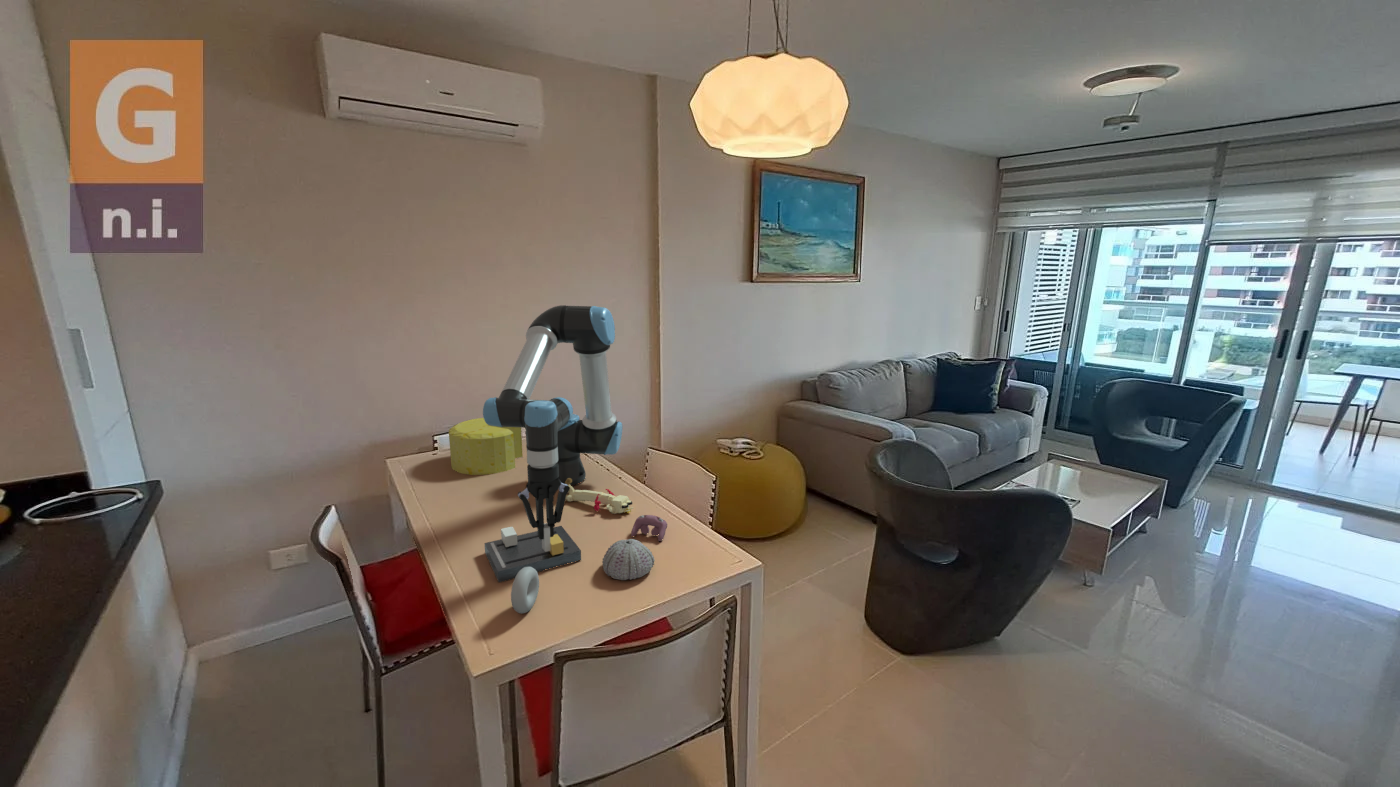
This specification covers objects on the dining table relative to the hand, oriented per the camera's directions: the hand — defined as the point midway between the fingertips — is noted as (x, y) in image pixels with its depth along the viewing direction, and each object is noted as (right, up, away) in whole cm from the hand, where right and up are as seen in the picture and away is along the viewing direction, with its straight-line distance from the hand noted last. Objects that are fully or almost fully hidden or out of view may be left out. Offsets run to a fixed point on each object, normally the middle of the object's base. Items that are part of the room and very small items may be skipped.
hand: (546, 548), depth 145 cm
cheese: (-42, +14, +71) cm, 83 cm away
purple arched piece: (+25, -1, +17) cm, 30 cm away
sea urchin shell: (+21, -5, -1) cm, 22 cm away
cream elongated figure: (+7, +4, +35) cm, 36 cm away
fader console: (-5, -3, +4) cm, 7 cm away
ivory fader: (-11, 0, +5) cm, 12 cm away
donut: (0, -9, -18) cm, 20 cm away
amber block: (+2, -1, +1) cm, 2 cm away
